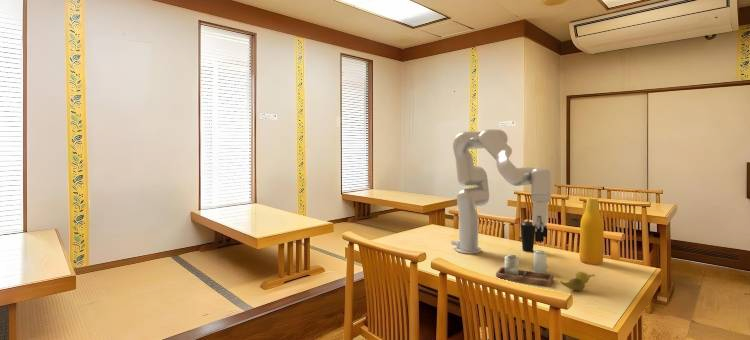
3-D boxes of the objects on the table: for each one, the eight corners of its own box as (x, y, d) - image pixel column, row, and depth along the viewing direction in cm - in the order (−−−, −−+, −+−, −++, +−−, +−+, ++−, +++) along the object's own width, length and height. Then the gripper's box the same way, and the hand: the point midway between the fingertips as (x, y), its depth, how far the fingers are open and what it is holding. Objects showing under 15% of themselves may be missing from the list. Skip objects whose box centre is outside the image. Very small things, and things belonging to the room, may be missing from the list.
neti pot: (599, 290, 142) (599, 272, 141) (564, 294, 138) (564, 276, 138) (589, 285, 146) (590, 269, 146) (555, 290, 143) (555, 272, 142)
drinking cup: (537, 253, 190) (538, 212, 188) (521, 252, 191) (521, 212, 190) (534, 248, 197) (534, 210, 196) (518, 248, 199) (518, 209, 197)
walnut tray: (496, 278, 156) (496, 256, 155) (501, 271, 164) (501, 251, 163) (550, 286, 146) (550, 264, 145) (553, 279, 153) (553, 257, 153)
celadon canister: (532, 272, 162) (532, 251, 161) (534, 269, 166) (534, 248, 166) (545, 274, 159) (545, 253, 159) (547, 270, 164) (547, 250, 163)
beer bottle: (581, 257, 181) (582, 196, 179) (603, 261, 176) (605, 197, 174) (578, 262, 174) (579, 198, 172) (601, 266, 168) (603, 200, 166)
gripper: (534, 195, 170) (535, 234, 171) (527, 200, 155) (528, 242, 156) (553, 196, 166) (553, 235, 167) (548, 201, 151) (548, 244, 152)
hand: (541, 239), depth 161 cm, fingers open, 9 cm apart
